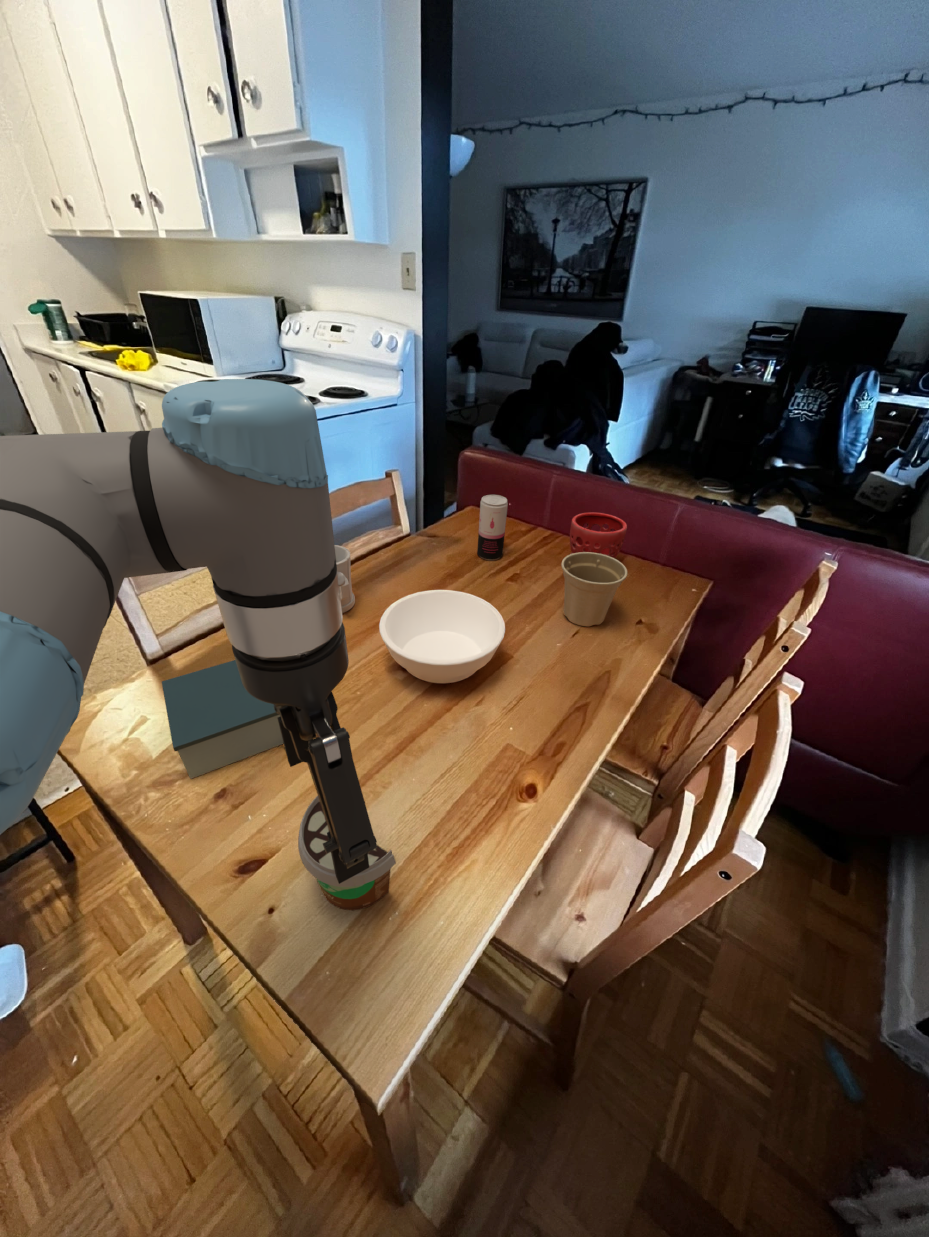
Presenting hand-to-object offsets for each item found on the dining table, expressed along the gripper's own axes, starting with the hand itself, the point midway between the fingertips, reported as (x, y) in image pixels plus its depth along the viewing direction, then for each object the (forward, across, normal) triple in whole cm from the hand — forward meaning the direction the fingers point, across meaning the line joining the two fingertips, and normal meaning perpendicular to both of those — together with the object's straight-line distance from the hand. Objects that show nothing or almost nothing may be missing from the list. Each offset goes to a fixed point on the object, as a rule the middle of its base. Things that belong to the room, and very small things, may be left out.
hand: (325, 810), depth 47 cm
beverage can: (+19, +62, -63) cm, 90 cm away
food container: (+19, +2, 0) cm, 19 cm away
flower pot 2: (+19, +30, -66) cm, 75 cm away
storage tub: (+18, +34, +4) cm, 39 cm away
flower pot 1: (+19, +46, -83) cm, 97 cm away
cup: (+19, +58, -21) cm, 65 cm away
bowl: (+19, +32, -32) cm, 49 cm away
